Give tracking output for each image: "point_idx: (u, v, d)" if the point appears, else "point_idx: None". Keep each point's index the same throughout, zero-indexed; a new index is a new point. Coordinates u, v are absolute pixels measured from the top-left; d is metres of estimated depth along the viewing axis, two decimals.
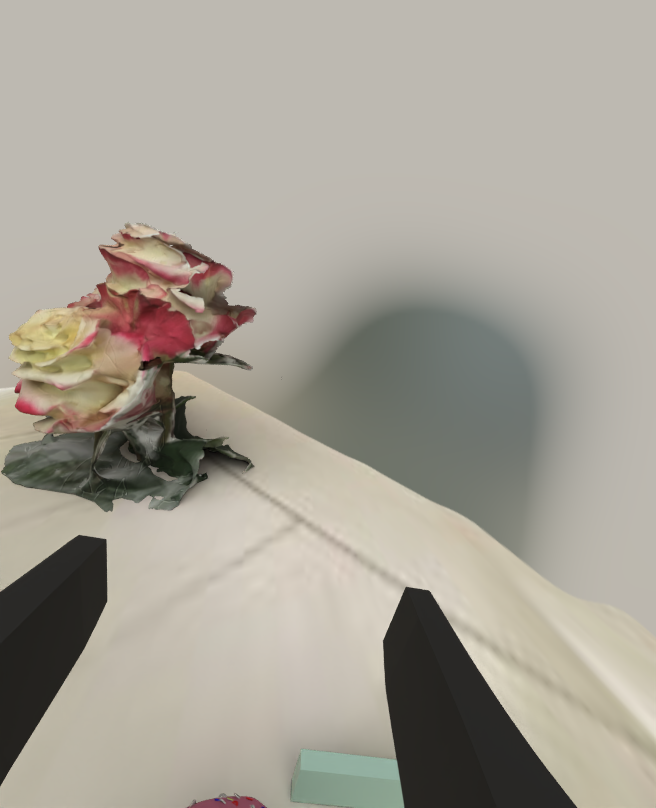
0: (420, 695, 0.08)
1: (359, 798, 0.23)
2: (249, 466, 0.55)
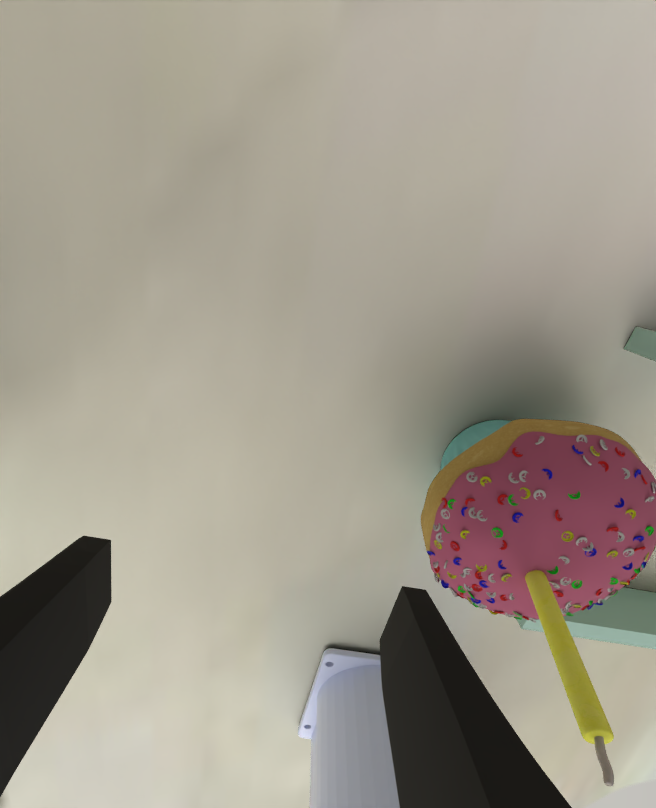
0: (415, 694, 0.08)
1: None
2: None
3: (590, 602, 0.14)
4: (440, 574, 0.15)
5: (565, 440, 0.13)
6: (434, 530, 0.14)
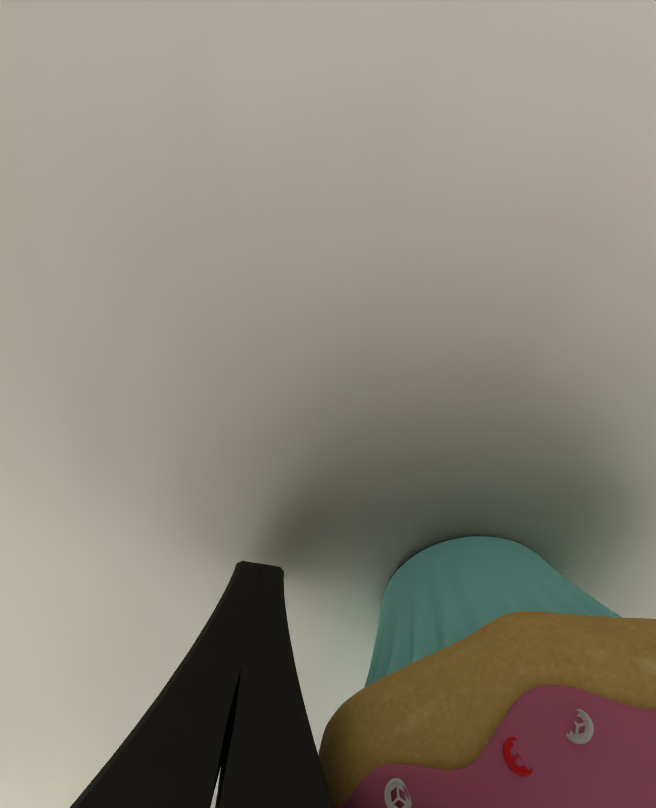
0: None
1: None
2: None
3: None
4: None
5: (650, 726, 0.05)
6: None
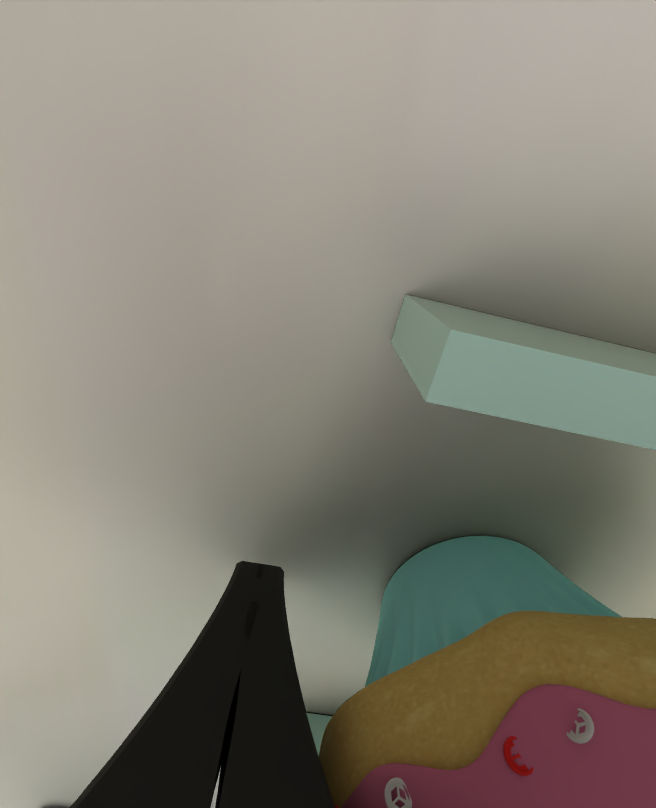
0: None
1: None
2: None
3: None
4: None
5: (650, 726, 0.05)
6: None
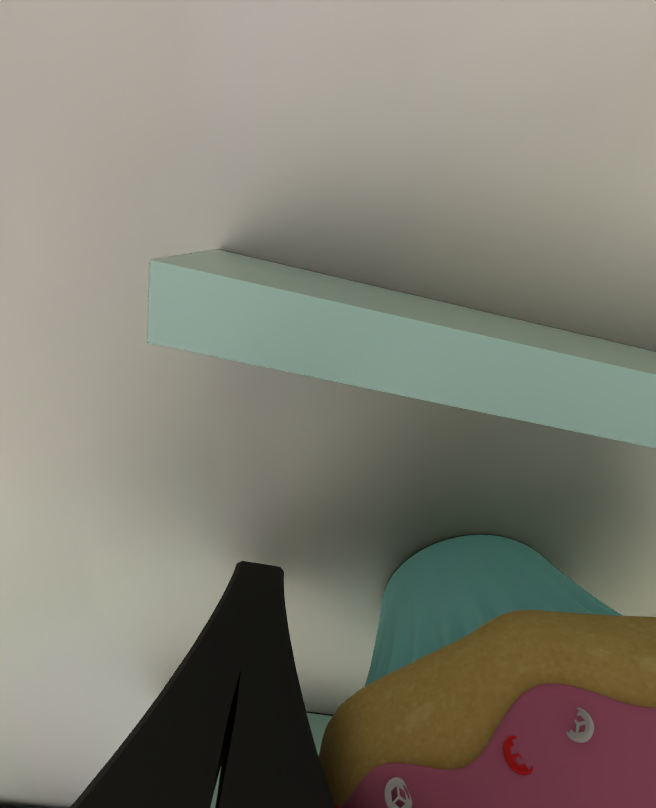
0: None
1: None
2: None
3: None
4: None
5: (650, 725, 0.05)
6: None
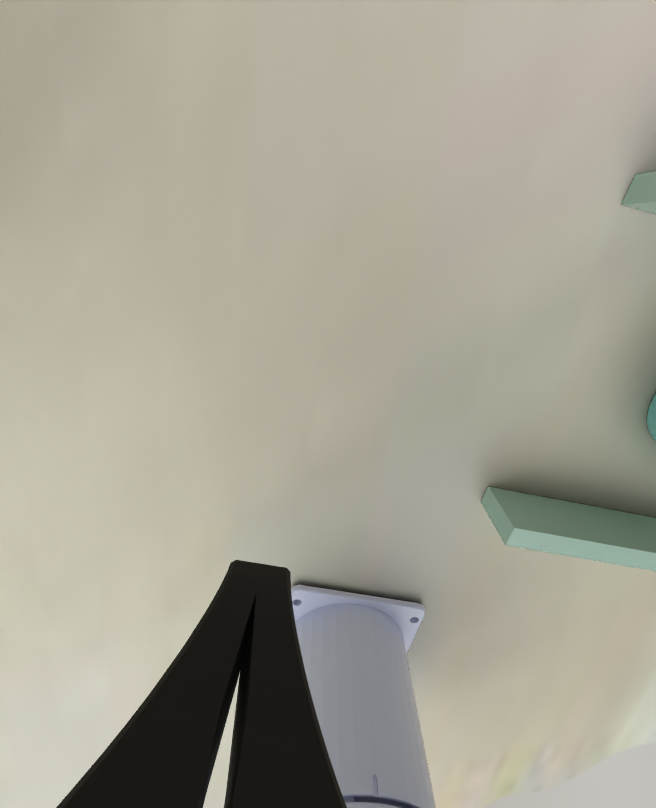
0: (245, 672, 0.07)
1: None
2: None
3: None
4: None
5: None
6: None
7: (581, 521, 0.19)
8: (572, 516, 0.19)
